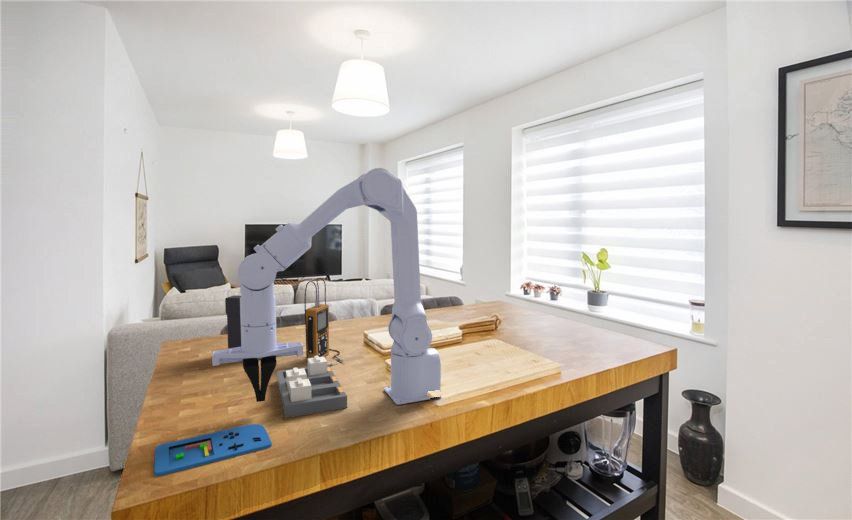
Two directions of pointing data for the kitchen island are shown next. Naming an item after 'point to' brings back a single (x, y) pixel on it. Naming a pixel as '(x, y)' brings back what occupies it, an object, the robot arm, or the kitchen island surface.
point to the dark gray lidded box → (233, 321)
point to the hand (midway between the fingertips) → (260, 399)
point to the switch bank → (314, 394)
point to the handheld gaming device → (209, 448)
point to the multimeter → (317, 328)
